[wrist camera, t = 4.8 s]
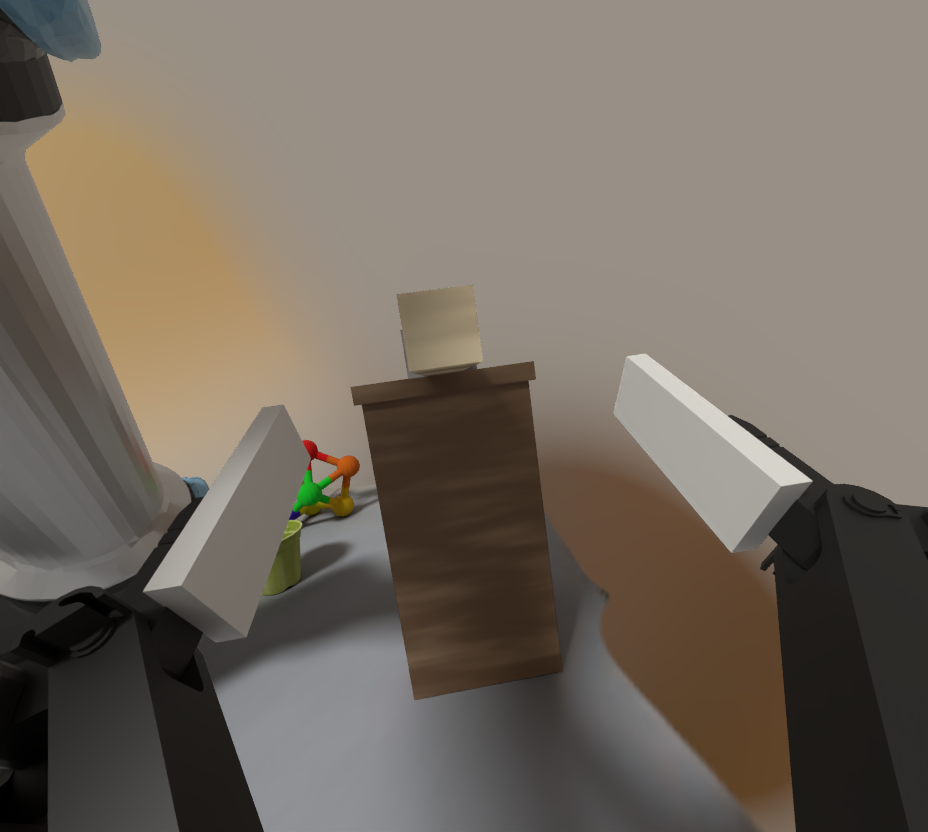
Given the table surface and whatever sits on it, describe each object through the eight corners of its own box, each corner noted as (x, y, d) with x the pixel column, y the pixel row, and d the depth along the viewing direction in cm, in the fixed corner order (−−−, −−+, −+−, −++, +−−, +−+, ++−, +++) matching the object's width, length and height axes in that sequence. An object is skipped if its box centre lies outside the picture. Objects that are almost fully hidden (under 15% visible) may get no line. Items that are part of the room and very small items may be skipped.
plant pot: (302, 595, 49) (290, 540, 48) (233, 611, 47) (220, 555, 46) (318, 562, 58) (309, 515, 57) (261, 574, 56) (251, 527, 55)
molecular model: (375, 505, 80) (354, 428, 77) (336, 543, 66) (308, 449, 62) (307, 510, 86) (284, 438, 83) (257, 545, 72) (228, 460, 68)
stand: (419, 597, 44) (383, 384, 41) (527, 577, 45) (500, 368, 42) (408, 706, 29) (350, 387, 26) (569, 674, 30) (533, 361, 27)
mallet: (414, 380, 41) (408, 340, 40) (470, 372, 41) (464, 332, 40) (358, 378, 13) (334, 246, 12) (531, 354, 13) (516, 225, 13)
